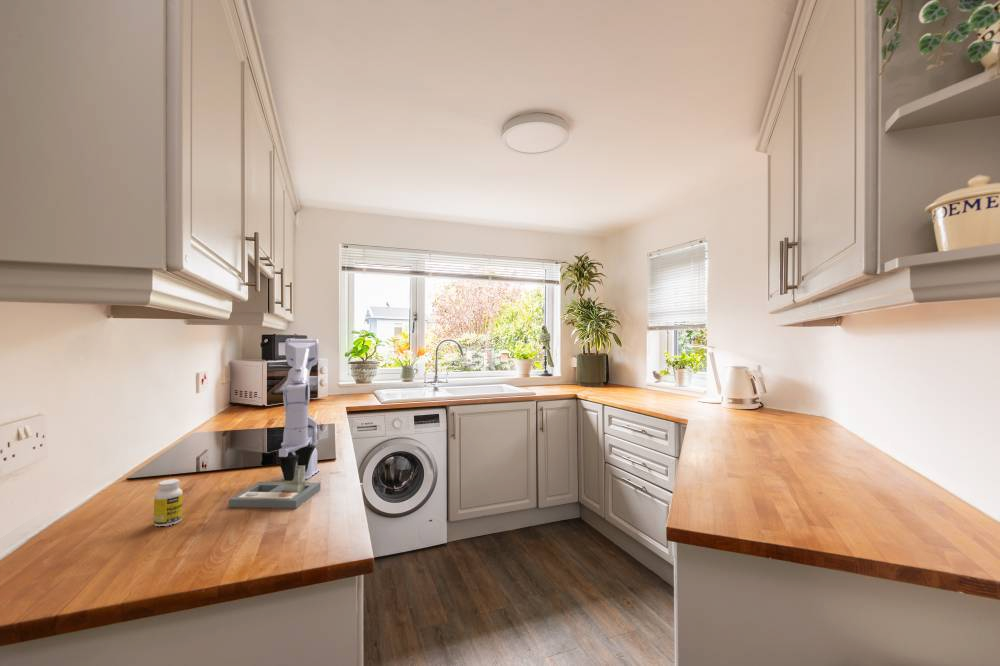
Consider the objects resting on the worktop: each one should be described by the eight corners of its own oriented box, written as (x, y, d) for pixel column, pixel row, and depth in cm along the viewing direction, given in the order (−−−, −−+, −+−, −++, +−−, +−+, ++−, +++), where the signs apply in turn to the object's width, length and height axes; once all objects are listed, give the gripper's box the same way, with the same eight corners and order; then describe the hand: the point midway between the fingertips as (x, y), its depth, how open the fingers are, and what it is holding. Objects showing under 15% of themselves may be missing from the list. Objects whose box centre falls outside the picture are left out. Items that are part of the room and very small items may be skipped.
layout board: (260, 488, 128) (260, 479, 128) (320, 489, 127) (320, 481, 127) (228, 507, 114) (228, 497, 114) (296, 508, 113) (296, 498, 113)
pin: (291, 493, 124) (291, 465, 124) (304, 493, 124) (305, 465, 124) (283, 498, 120) (283, 469, 120) (298, 499, 120) (298, 469, 120)
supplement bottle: (166, 528, 101) (167, 486, 101) (147, 526, 102) (148, 484, 102) (187, 519, 106) (188, 478, 106) (169, 517, 107) (170, 477, 107)
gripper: (295, 421, 129) (295, 467, 129) (267, 432, 115) (267, 484, 115) (318, 422, 129) (318, 468, 129) (293, 433, 115) (293, 484, 115)
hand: (296, 475), depth 122 cm, fingers open, 7 cm apart
